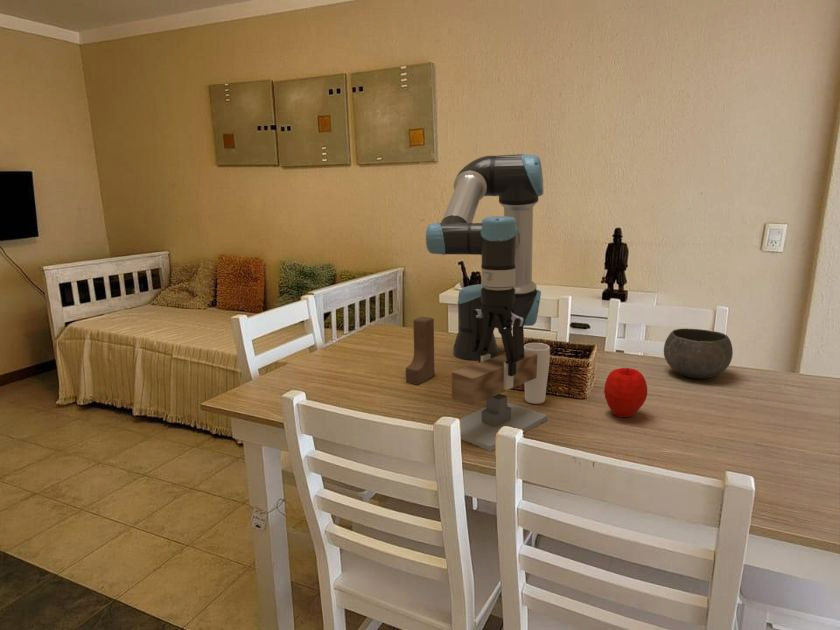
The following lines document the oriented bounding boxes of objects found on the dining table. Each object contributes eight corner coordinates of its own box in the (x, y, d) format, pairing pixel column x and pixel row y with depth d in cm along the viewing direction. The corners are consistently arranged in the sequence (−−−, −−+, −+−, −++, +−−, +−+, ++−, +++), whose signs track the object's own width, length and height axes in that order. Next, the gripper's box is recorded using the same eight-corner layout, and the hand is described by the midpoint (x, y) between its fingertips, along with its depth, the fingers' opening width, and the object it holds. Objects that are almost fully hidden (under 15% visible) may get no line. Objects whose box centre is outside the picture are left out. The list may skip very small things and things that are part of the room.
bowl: (662, 381, 155) (666, 339, 152) (661, 362, 171) (664, 323, 168) (733, 389, 148) (739, 344, 145) (725, 368, 165) (730, 328, 162)
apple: (640, 427, 127) (644, 377, 124) (597, 418, 132) (600, 371, 129) (648, 412, 135) (652, 365, 132) (607, 404, 140) (610, 359, 137)
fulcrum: (501, 404, 142) (501, 376, 140) (547, 419, 132) (548, 390, 130) (442, 431, 127) (442, 401, 125) (490, 451, 117) (490, 418, 115)
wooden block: (418, 385, 156) (416, 324, 152) (405, 382, 159) (403, 322, 155) (435, 375, 164) (434, 317, 159) (422, 373, 166) (421, 316, 162)
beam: (516, 372, 137) (516, 349, 136) (536, 377, 133) (537, 354, 131) (451, 398, 121) (451, 372, 119) (472, 405, 116) (472, 378, 115)
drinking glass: (549, 397, 145) (551, 343, 142) (546, 407, 139) (548, 351, 136) (523, 394, 148) (525, 341, 144) (519, 404, 141) (521, 349, 138)
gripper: (455, 284, 125) (455, 379, 131) (523, 294, 112) (520, 399, 117) (476, 280, 131) (475, 371, 136) (543, 289, 117) (540, 390, 123)
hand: (496, 384), depth 127 cm, fingers closed on beam, 6 cm apart
